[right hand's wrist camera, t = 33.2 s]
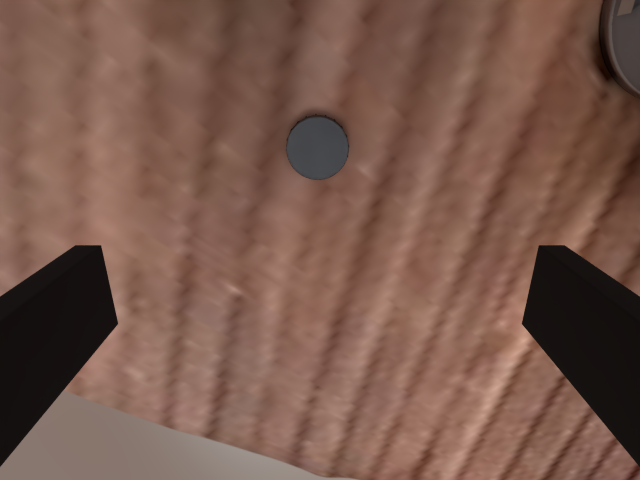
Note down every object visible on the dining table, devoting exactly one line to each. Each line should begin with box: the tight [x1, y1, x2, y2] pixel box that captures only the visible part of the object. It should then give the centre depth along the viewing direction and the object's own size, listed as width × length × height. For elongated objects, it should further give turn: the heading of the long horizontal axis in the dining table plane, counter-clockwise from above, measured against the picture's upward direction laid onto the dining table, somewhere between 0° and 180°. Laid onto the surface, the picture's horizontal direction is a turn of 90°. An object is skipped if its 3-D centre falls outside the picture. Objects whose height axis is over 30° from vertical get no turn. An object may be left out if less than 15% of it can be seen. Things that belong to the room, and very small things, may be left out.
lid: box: [286, 114, 349, 180], centre depth 37 cm, size 6×6×2 cm
